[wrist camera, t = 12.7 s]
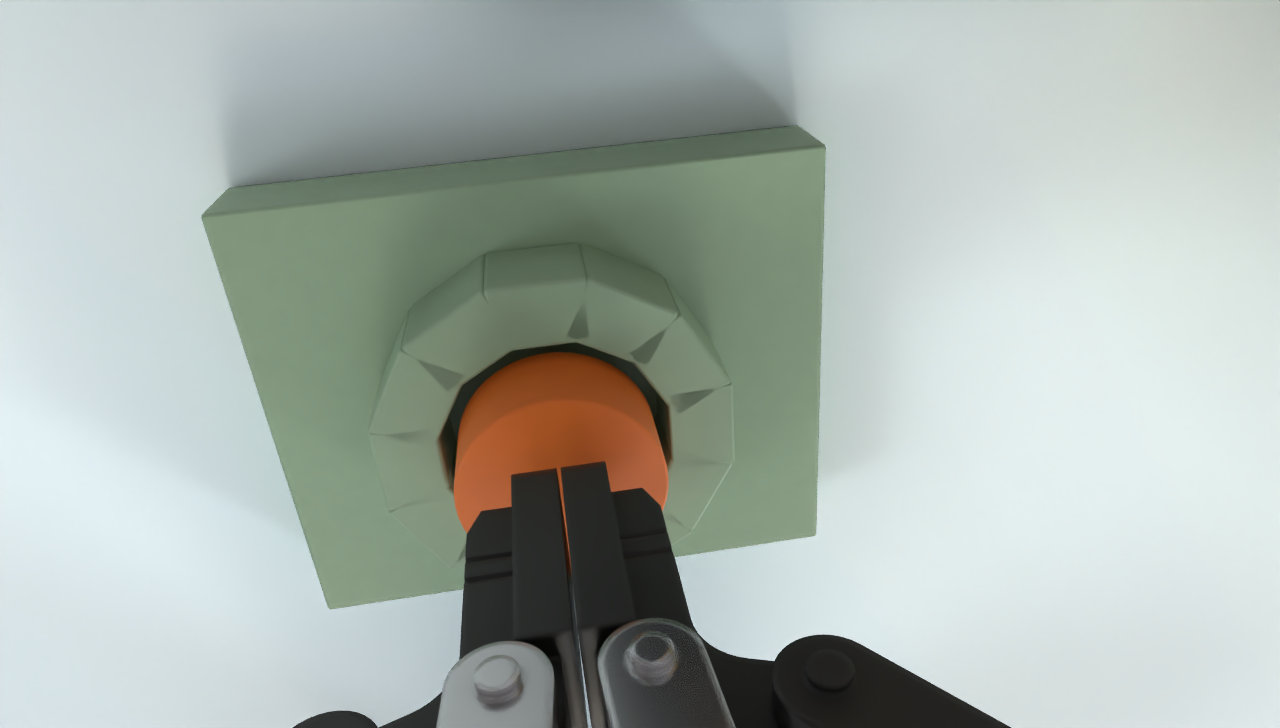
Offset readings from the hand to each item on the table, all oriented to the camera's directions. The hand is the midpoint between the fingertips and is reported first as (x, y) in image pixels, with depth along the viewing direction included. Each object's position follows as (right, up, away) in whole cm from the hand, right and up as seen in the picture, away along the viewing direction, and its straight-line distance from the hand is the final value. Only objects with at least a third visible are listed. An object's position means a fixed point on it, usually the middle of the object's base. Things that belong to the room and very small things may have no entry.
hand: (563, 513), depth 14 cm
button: (0, +1, +2) cm, 2 cm away
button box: (-1, +2, +5) cm, 6 cm away
